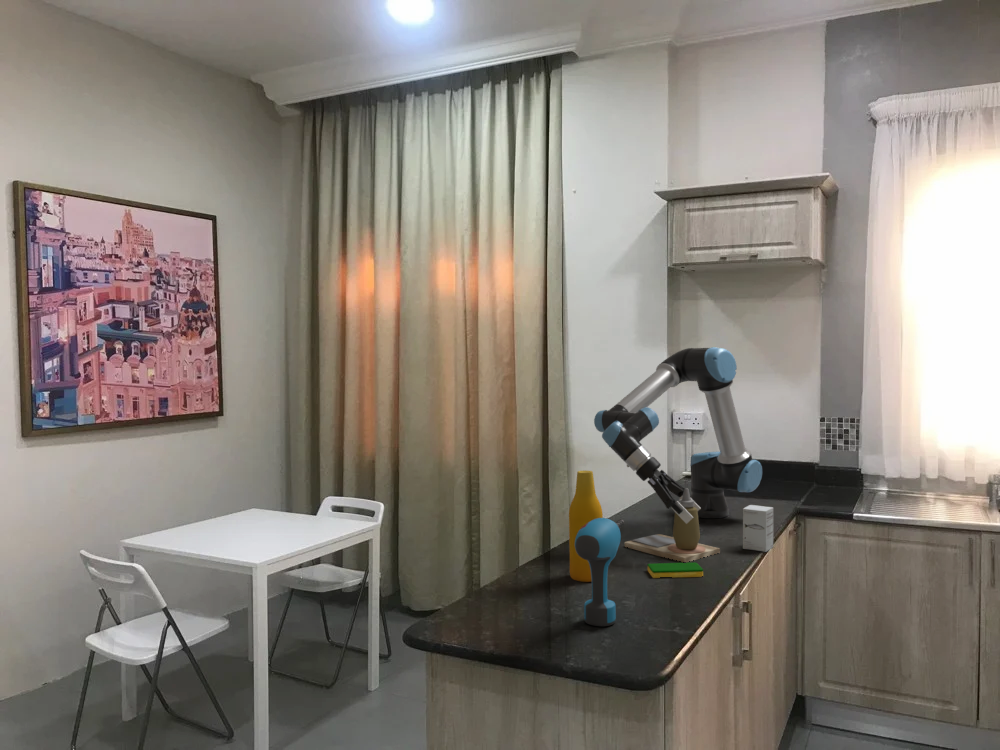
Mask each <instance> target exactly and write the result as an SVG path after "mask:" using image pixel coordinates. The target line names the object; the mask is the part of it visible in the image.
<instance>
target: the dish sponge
mask: <svg viewBox="0 0 1000 750" xmlns="http://www.w3.org/2000/svg"><path fill="white" fill-rule="evenodd" d="M647 572H648V573H649V575H650V577H652V579H659V578H660V577H672V578H701V577H702V576H703V577H704V569H703V567H701V565H700V564H698V563H697V561H696V562H693V561H690V562H686V563H683V562H665V563H664V562H663V563H657V562H656V563H654V562H653V563H647ZM660 579H661V578H660Z"/></svg>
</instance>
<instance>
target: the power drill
mask: <svg viewBox="0 0 1000 750" xmlns="http://www.w3.org/2000/svg"><path fill="white" fill-rule="evenodd" d="M624 525H625V521H624V520H623V519H622V518H620V519H619V520H617V521H616V522H615V521H614V520H611V519H610V518H605V517H603V518H597V519H594V520H592V521H590V522H588V523H587V524H585V525H584V526H583V527H581V529H580V530H579V531H578V533H577V535H576V539H575V549H576V552H577V554H578V555H579V556H580V557H581V558H583V559H585V560H588V562H589V565H590V569H591V578H592V582H591V599H587V600H586V601H585V602H584V604H583V606H584V607H583V610H584V611H583V612H584V614H583V618H584V622H585V623H586V624H588V625H590V626H593V627H610V626H612V625H614V624H615V623H616V621H617V618H616V617H617V615H616V614H617V613H616V608H617V607H616V603H615V601H614V600H611V599H608V572H609V571H608V570H609V567H610V564H611V562H612V561H613V560H614V559H615V558H616V555H617V553H618V549H619V546H620V544H621V538H622V536H621V535H622V534H621V530H620V528H621V527H623V526H624Z"/></svg>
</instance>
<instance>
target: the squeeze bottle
mask: <svg viewBox="0 0 1000 750" xmlns="http://www.w3.org/2000/svg"><path fill="white" fill-rule="evenodd" d="M683 488H684V492H683V496H682V499H678V500H677V501H678V502H679V503H680V504H681V505H682V506H683V507H684V508H685V509H686V510H687V511H688V512H689V513H690V514H691V515H692V516H693V518H692V519H691V520H690V521H689V522H688V523H687V524H686V523H685V522H684V521H683V520H682V519H681V518H680V517H679V516H678V515H677V514H676V513H675V512H674V518H673V519H674V520H673V528H672V529H673V530H672V537H674V540H675V543H676V547H677V548H679V549H684V550H692V549H696V548H697V545H698V543H699V541H700V538H701V533H700V532H701V531H700V524H699V523H700V521H699V517H698V511H697V509H696V508H695V507H693V506H694V500H691V499H690V496H691V493H690V490H689V488H688V487H683Z"/></svg>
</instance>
